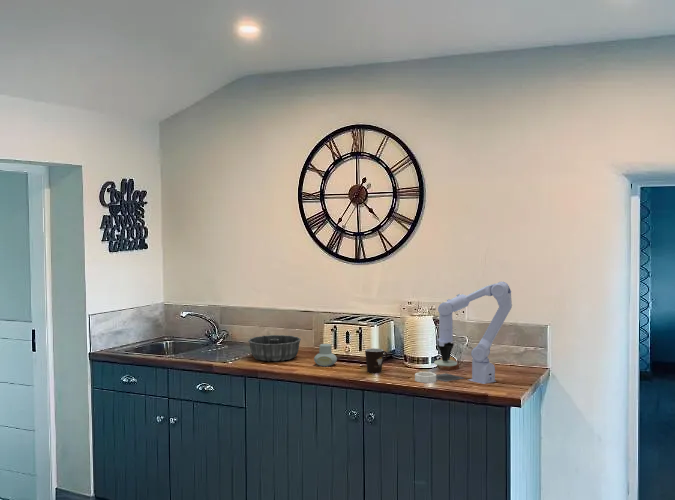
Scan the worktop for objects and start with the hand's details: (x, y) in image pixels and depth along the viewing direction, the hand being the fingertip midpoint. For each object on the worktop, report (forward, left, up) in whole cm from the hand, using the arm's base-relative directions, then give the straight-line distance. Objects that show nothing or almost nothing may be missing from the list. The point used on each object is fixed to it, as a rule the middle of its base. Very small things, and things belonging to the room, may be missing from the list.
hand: (445, 360), depth 314 cm
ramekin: (+1, +11, -8) cm, 14 cm away
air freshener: (+55, +26, -8) cm, 61 cm away
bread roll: (+14, -15, -8) cm, 22 cm away
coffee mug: (+29, +15, -8) cm, 34 cm away
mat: (0, 0, -8) cm, 8 cm away
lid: (0, 0, -2) cm, 2 cm away
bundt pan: (+84, +37, -8) cm, 92 cm away
